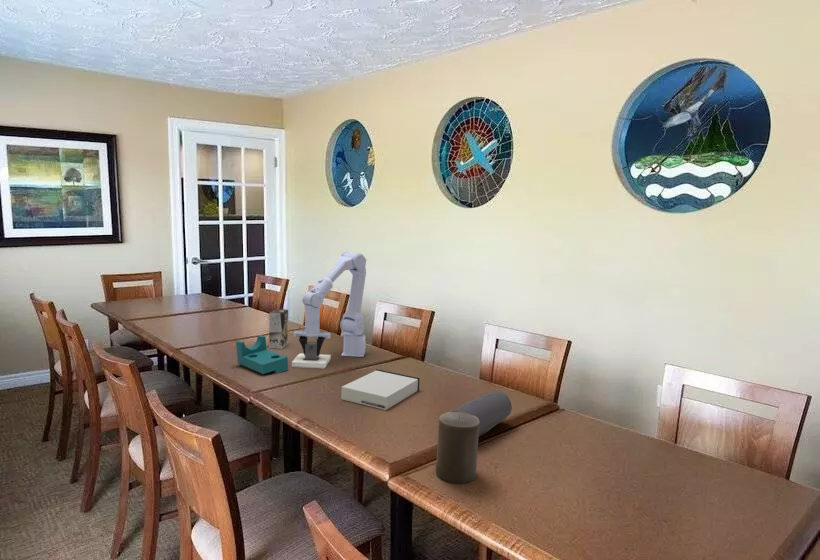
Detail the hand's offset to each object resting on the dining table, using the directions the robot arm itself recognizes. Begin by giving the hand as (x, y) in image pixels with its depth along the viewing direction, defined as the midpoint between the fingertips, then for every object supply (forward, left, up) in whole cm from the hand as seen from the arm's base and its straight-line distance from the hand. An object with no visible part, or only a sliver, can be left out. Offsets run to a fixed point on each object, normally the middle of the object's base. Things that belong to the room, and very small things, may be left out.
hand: (311, 355), depth 211 cm
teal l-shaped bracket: (+17, +9, -4) cm, 20 cm away
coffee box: (+20, -24, -4) cm, 31 cm away
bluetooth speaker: (-61, +60, -4) cm, 86 cm away
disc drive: (-31, +33, -4) cm, 45 cm away
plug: (0, 0, -2) cm, 2 cm away
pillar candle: (-53, +85, -4) cm, 100 cm away
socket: (0, 0, -3) cm, 3 cm away
